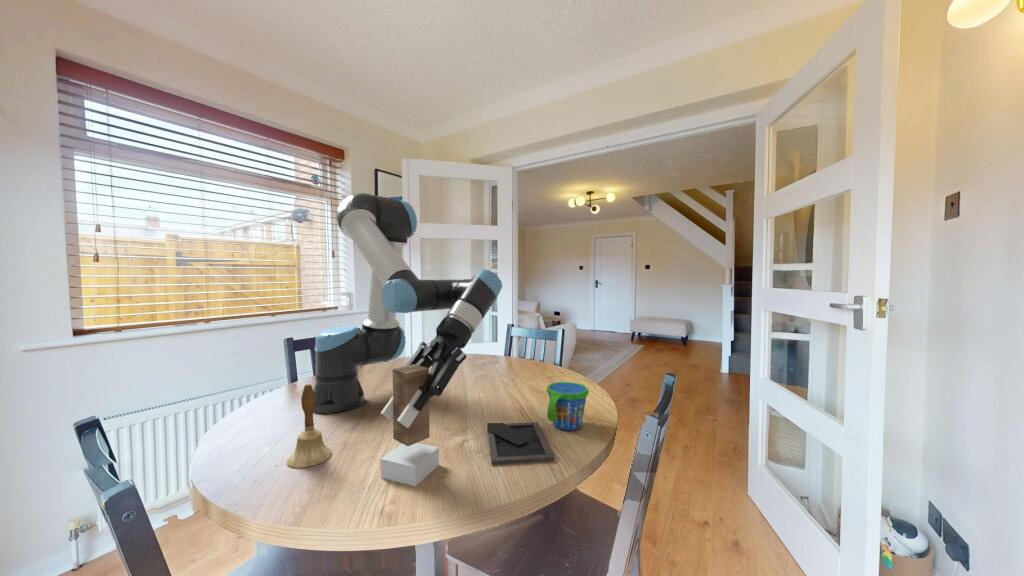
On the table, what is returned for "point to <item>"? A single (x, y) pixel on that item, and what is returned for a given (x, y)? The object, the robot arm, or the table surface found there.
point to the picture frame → (517, 443)
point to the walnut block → (403, 391)
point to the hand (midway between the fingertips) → (394, 420)
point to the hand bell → (309, 437)
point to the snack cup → (566, 404)
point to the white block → (409, 463)
